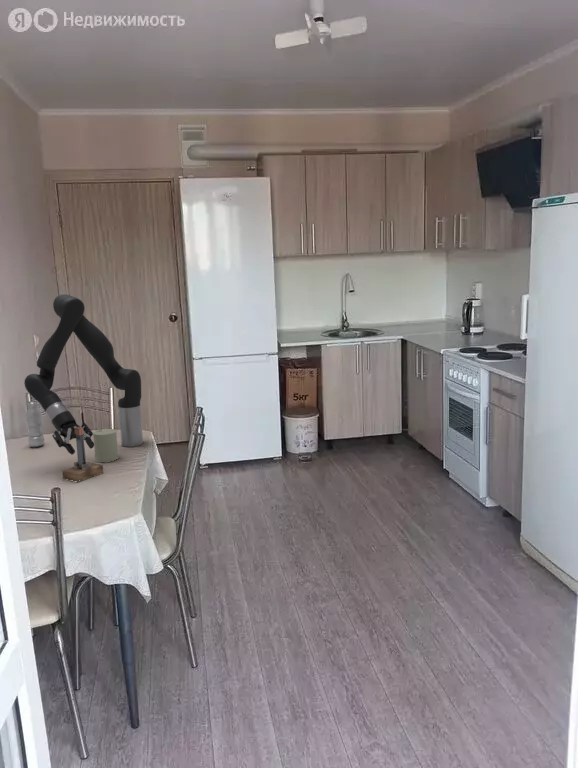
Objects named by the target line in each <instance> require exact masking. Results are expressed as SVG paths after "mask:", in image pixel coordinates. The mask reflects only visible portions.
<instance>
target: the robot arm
mask: <svg viewBox="0 0 578 768" xmlns="http://www.w3.org/2000/svg"><path fill="white" fill-rule="evenodd" d="M52 304H53V305H52V307H53V311H54V313H55V315H56V316H58V318H60V319H59V323H58V325H57V327H56V329H55V330H54V332H53V333H52V334H51V336H50V337H49V338H48V339H47V341H45V343H44V345H43V347H42V348H41V351H40V354H39V356H38V358H37V360H36V366H37V367H38V368H39V374H37V373H30V374H28V375H27V376H26V377H25V379H24V383H23V384H24V387H25V390H26V391H27V392H28V394H29V395H31V397H32V398H33V399H34V401H37V403H38V404H40V405H41V407H42V409H43V410H44V411H43V412H45V413H46V415H47V417H48V419H49V421H50V422H51V424H52V425H53V427H54V428H55V430H54V432H53V433H52V438H53V440H54V441H55V443H56V445H57V447H58V448H62V447H63V448H65V449H66V451H67V453H69V455H71V456H72V455H74V454H75V453H76V450H75V448H74V447H73V445H72V444H71V443H70V441H71V440H73V439H75V440H76V435H75V430H74V428H77V427H82V428H83V430H84V434H83V438H84V443H86V445H87V446H88V447H89V449H93V448H94V440H92V437H93V431H92V430H91V428H89V426H88V425H87V423H85V422H83V423H82V424H80V425H78V423H77V422H76V418H75V417H74V416H73V414H72V413H71V411H70V410H69V408H68V407H67V406H66V404H65V403H64V402H63V401H62V399H61V398H60V396H59V395H58V394H57V393H56V392H54V391H52V390H51V389H52V387H53V385H54V379H55V373H56V367H57V364H58V362H59V360H60V358H61V356H62V352H63V350H64V348H65V346H66V344H67V343H68V342H69V339H70V337H71V335H72V334H75V337H77V339H78V340H79V342H80V343H81V344H82V345H83V346H84V348H85V349H86V351H87V352H88V353H89V354H90V356H91V357H93V359H94V360H95V361H96V363H98V365H99V366H100V367H101V368H102V369H103V372H104V373H105V374H106V375H107V377H108V379H109V380H110V382H111V384H112V386H113V387H114V388H116V389H118V390H120V391H124V396H123V397H121V398H120V399H118V401H117V404H118V405H117V407H118V416H119V419H118V420H119V429H120V441H121V442H120V443H121V446H122V447H128V448H131V447H138V446H141V445H143V443H144V438H143V436H144V435H143V424H142V413H141V412H142V410H141V401H142V400H141V399H142V379H141V374H140V373H139V371H138V370H136V369H131V368H124V367H122V366H121V365H120V363H119V362H118V361H117V360H116V357H115V352H114V346H113V344H112V343H111V341H110V340H109V339H108V338H107V336H106V335H105V334H104V333H103V332H102V330H101V329H99V328H98V327H97V326H96V325H95V324H93V323H92V322H91V321H90V320H89V319H88V318H87V317H86V316H85V315H84V313H85V308H86V307H85V304H84V302H83V301H82V300H81V299H80V298H77V297H75V296H72V295H70V294H59V295H57V296H56V297H55V298H54V300H53V303H52Z"/></svg>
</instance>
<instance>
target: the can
mask: <svg viewBox="0 0 578 768" xmlns="http://www.w3.org/2000/svg"><path fill="white" fill-rule="evenodd" d="M92 433H93V435H92V437H93V443H94V447H93V448H94V457H95V459H94V462H96V463H100V462H106V463H111V461H112V462H115V461H117V460H118V459H119V458H120V457H119V451H118V440H117V437H118V436H117V430H116V429H114V428H102V429H98V430H94V431H92ZM116 459H117V460H116ZM114 460H115V461H114Z"/></svg>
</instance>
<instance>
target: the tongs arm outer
mask: <svg viewBox="0 0 578 768" xmlns="http://www.w3.org/2000/svg"><path fill="white" fill-rule="evenodd" d="M74 430H75V435H76V438H75V442H76V454H77V456H76V457H77V462H78V467H80V468H82V465H83V464H84V461H83V448H82V433H81V428H74Z"/></svg>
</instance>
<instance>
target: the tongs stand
mask: <svg viewBox="0 0 578 768" xmlns="http://www.w3.org/2000/svg"><path fill="white" fill-rule="evenodd" d="M61 472H62V479H63V480H66V479H68V480H67V481H70V480H73V481H79V480H82V481H84V480H83V479H85V478H88V477H91V476H93V477H95V476H94V475H96V476H98V475H97V474H99V475H101V474H103V473H104V465H102V464H99V463H94V462H90V461H88V462H87V461H86V463H85V464H83V465H82V468H80V467H78V461H76V462H74V463H73V466H72V467H69V468H68V469H64V470H62V471H61ZM100 473H101V474H100ZM91 478H92V477H91ZM88 479H89V478H88ZM85 480H86V479H85ZM73 481H72V482H73Z"/></svg>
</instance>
